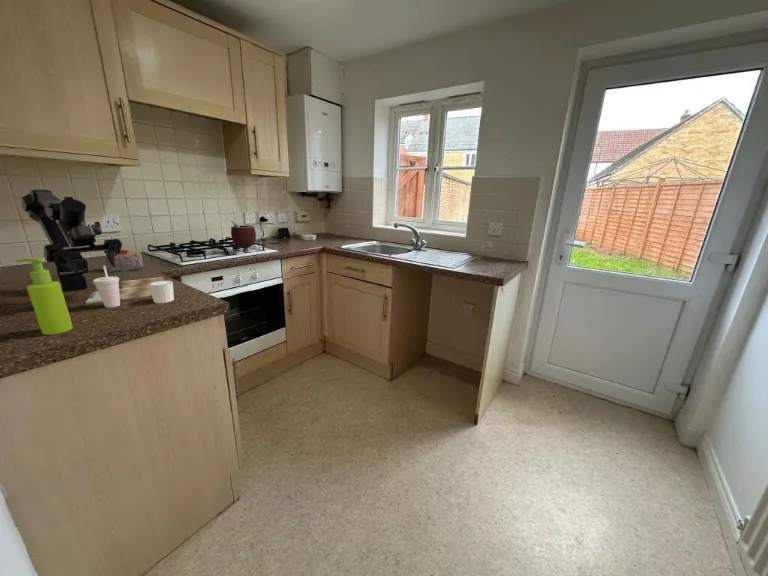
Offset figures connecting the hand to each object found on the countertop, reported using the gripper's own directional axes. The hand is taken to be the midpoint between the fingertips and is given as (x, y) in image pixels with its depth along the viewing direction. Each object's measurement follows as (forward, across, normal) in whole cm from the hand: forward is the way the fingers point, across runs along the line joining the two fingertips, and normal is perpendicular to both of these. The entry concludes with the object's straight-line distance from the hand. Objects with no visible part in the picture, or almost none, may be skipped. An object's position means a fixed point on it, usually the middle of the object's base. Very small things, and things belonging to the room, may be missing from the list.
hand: (97, 269), depth 100 cm
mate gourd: (-22, +84, +39) cm, 95 cm away
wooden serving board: (+6, +12, +10) cm, 17 cm away
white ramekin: (+18, +12, -1) cm, 22 cm away
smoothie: (+13, 0, +5) cm, 13 cm away
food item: (-27, +25, +44) cm, 57 cm away
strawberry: (+2, -12, +15) cm, 20 cm away
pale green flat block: (+3, +2, +14) cm, 14 cm away
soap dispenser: (+19, -16, -2) cm, 25 cm away
